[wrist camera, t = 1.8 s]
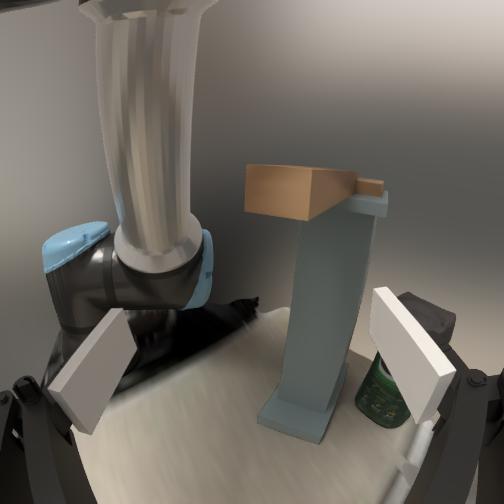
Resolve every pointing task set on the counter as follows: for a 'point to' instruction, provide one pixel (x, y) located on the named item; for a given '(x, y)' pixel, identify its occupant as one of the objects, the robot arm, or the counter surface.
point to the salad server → (302, 189)
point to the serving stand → (323, 315)
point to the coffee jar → (379, 377)
